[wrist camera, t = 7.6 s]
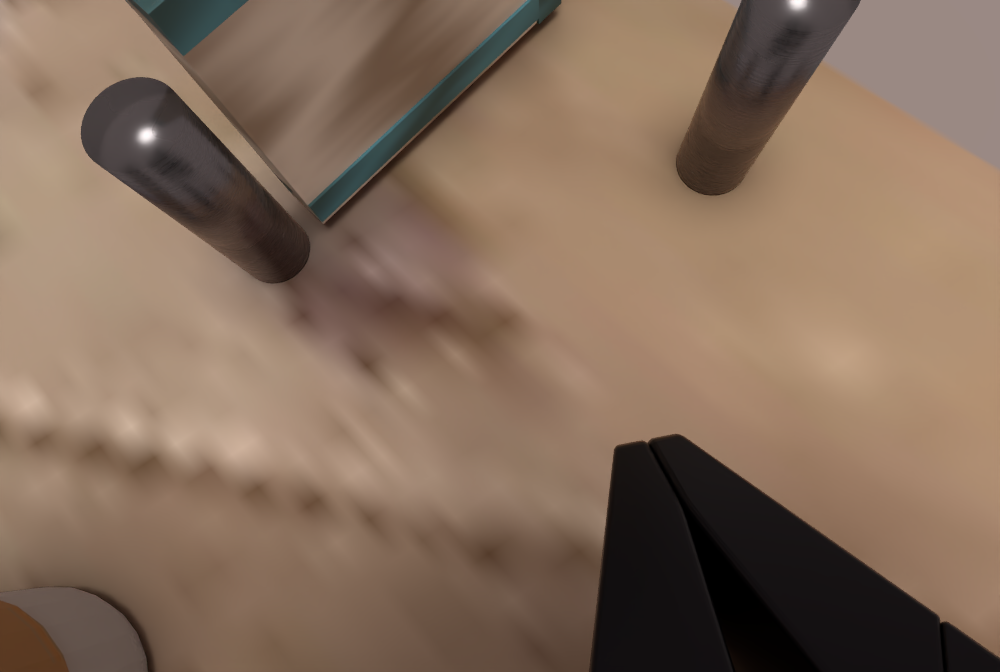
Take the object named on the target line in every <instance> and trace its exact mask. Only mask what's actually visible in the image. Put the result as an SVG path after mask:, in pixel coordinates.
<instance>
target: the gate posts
mask: <svg viewBox="0 0 1000 672" xmlns="http://www.w3.org/2000/svg"><path fill="white" fill-rule="evenodd" d="M859 3H860V0H742V1H741V3H740V6H739V8H738V11H737V13H736V15H735V18H734V20H733V23H732V25H731V27H730V30H729V32H728V35H727V37H726V39H725V42H724V44H723V47H722V49H721V51H720V54H719V56H718V59H717V61H716V63H715V66H714V68H713V71H712V73H711V75H710V78H709V80H708V82H707V85H706V87H705V90H704V92H703V94H702V97H701V99H700V102H699V104H698V106H697V109H696V111H695V114H694V116H693V118H692V121H691V123H690V126H689V128H688V130H687V133H686V135H685V138H684V140H683V142H682V145H681V147H680V150H679V152H678V155H677V161H676V164H677V170H678V173H679V175H680V177H681V179H682V180H683V182H684V183H685V184H686V185H687V186H689V187H690V188H691V189H693V190H695V191H697V192H699V193H702V194H707V195H719V194H723V193H726V192H729V191H731V190H732V189H734V188H735V187H737V186H738V185H739V184H740V182H741V181H742V179H743V178H744V176H745V175H746V173H747V172H748V170H749V169H750V167H751V166H752V164H753V163H754V161H755V160H756V158H757V157H758V155H759V154H760V152H761V151H762V149H763V148H764V146H765V145H766V143H767V142H768V140H769V139H770V137H771V136H772V134H773V133H774V131H775V130H776V128H777V127H778V125H779V124H780V122H781V121H782V119H783V118H784V116H785V115H786V113H787V112H788V110H789V109H790V107H791V106H792V104H793V103H794V101H795V100H796V98H797V97H798V95H799V94H800V92H801V91H802V89H803V88H804V86H805V85H806V83H807V82H808V80H809V79H810V77H811V76H812V74H813V73H814V71H815V70H816V68H817V67H818V65H819V64H820V62H821V61H822V59H823V58H824V56H825V55H826V53H827V52H828V50H829V49H830V47H831V46H832V44H833V43H834V41H835V40H836V38H837V37H838V35H839V34H840V32H841V31H842V29H843V28H844V26H845V25H846V23H847V22H848V20H849V19H850V17H851V16H852V14H853V13H854V11H855V10H856V8H857V7H858V5H859ZM81 140H82V144H83V147H84V149H85V151H86V153H87V154H88V156H89V157H90V158H91V159H92V160H93V161H94V162H96V163H97V164H98V165H100V166H101V167H102V168H104V169H105V170H106V171H108V172H109V173H111V174H112V175H113V176H115V177H116V178H118V179H119V180H120V181H122V182H123V183H124V184H126V185H127V186H129V187H130V188H131V189H133V190H134V191H136V192H137V193H138V194H140V195H141V196H143V197H144V198H145V199H147V200H148V201H149V202H151V203H152V204H154V205H155V206H156V207H158V208H159V209H161V210H162V211H163V212H165V213H166V214H168V215H169V216H170V217H172V218H173V219H174V220H176V221H177V222H179V223H180V224H181V225H183V226H184V227H186V228H187V229H188V230H190V231H191V232H192V233H194V234H195V235H197V236H198V237H199V238H201V239H202V240H204V241H205V242H206V243H208V244H209V245H211V246H212V247H213V248H215V249H216V250H217V251H219V252H220V253H222V254H223V255H224V256H226V257H227V258H229V259H230V260H231V261H233V262H234V263H236V264H237V265H238V266H240V267H241V268H242V269H244V270H245V271H247V272H248V273H249V274H251V275H252V276H254V277H255V278H257V279H258V280H261V281H263V282H267V283H278V282H283V281H286V280H288V279H290V278H292V277H293V276H295V275H296V274H297V273H298V272H299V271H300V270H301V269H302V268H303V266H304V265H305V263H306V261H307V259H308V256H309V249H310V246H309V240H308V237H307V235H306V233H305V231H304V230H303V229H302V228H301V227H300V226H299V224H298V223H297V222H296V221H295V220H294V219H293V218H292V217H291V216H290V215H289V214H288V213H287V212H286V211H285V209H284V208H283V207H282V206H281V205H280V204H279V203H278V202H277V201H276V200H275V199H274V198H273V197H272V196H271V194H270V193H269V192H268V191H267V190H266V189H265V188H264V187H263V186H262V185H261V184H260V183H259V182H258V181H257V180H256V178H255V177H254V176H253V175H252V174H251V173H250V172H249V171H248V170H247V169H246V168H245V167H244V166H243V165H242V163H241V162H240V161H239V160H238V159H237V158H236V157H235V156H234V155H233V154H232V153H231V152H230V151H229V150H228V148H227V147H226V146H225V145H224V144H223V143H222V142H221V141H220V140H219V139H218V138H217V137H216V136H215V135H214V134H213V132H212V131H211V130H210V129H209V128H208V127H207V126H206V125H205V124H204V123H203V122H202V121H201V120H200V119H199V117H198V116H197V115H196V114H195V113H194V112H193V111H192V110H191V109H190V108H189V107H188V106H187V105H186V104H185V102H184V101H183V100H182V99H181V98H180V97H179V96H178V95H177V94H176V93H175V92H174V91H173V90H172V89H171V88H170V87H169V86H168V85H166V84H165V83H163V82H161V81H158V80H156V79H152V78H145V77H136V78H129V79H126V80H122V81H120V82H117V83H115V84H113V85H111V86H109V87H108V88H106V89H105V90H104V91H102V92H101V93H100V94H99V95H98V96H97V97H96V98H95V99H94V100H93V102H92V103H91V104H90V106H89V107H88V109H87V111H86V113H85V115H84V118H83V121H82V126H81Z"/></svg>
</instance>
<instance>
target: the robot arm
mask: <svg viewBox="0 0 1000 672" xmlns="http://www.w3.org/2000/svg"><path fill="white" fill-rule="evenodd" d="M589 672H1000V658H999V657H998V656H996V655H995V654H993V653H992V652H990V651H989V650H987V649H986V648H985V647H983V646H982V645H980V644H979V643H977V642H976V641H975V640H973V639H972V638H970V637H969V636H968V635H966V634H965V633H963V632H962V631H960V630H959V629H958V628H956V627H955V626H953V625H952V624H950V623H949V622H946V621H945V622H942V623H941V624H940V618H939V616H938V615H937V614H936V613H934V612H933V611H931V610H930V609H929V608H927V607H926V606H924V605H923V604H921V603H920V602H919V601H917V600H916V599H914V598H913V597H912V596H910V595H909V594H907V593H906V592H904V591H903V590H902V589H900V588H899V587H897V586H896V585H894V584H893V583H892V582H890V581H889V580H887V579H886V578H884V577H883V576H882V575H880V574H879V573H877V572H876V571H875V570H873V569H872V568H870V567H869V566H867V565H866V564H865V563H863V562H862V561H860V560H859V559H857V558H856V557H855V556H853V555H852V554H850V553H849V552H848V551H846V550H845V549H843V548H842V547H840V546H839V545H838V544H836V543H835V542H833V541H832V540H830V539H829V538H828V537H826V536H825V535H823V534H822V533H820V532H819V531H818V530H816V529H815V528H813V527H812V526H811V525H809V524H808V523H806V522H805V521H803V520H802V519H801V518H799V517H798V516H796V515H795V514H793V513H792V512H791V511H789V510H788V509H786V508H785V507H784V506H782V505H781V504H779V503H778V502H776V501H775V500H774V499H772V498H771V497H769V496H768V495H766V494H765V493H764V492H762V491H761V490H759V489H758V488H756V487H755V486H754V485H752V484H751V483H749V482H748V481H747V480H745V479H744V478H742V477H741V476H739V475H738V474H737V473H735V472H734V471H732V470H731V469H729V468H728V467H727V466H725V465H724V464H722V463H721V462H720V461H718V460H717V459H715V458H714V457H712V456H711V455H710V454H708V453H707V452H705V451H704V450H702V449H701V448H700V447H698V446H697V445H695V444H694V443H692V442H691V441H690V440H688V439H687V438H685V437H684V436H682V435H679V434H672V435H667V436H662V437H657V438H652V439H651V440H650V441H649V442H648V443H647V442H645V441H636V442H631V443H626V444H621V445H617V446H616V447H615V449H614V455H613V464H612V473H611V482H610V491H609V499H608V508H607V517H606V526H605V535H604V544H603V552H602V561H601V570H600V579H599V588H598V597H597V606H596V614H595V623H594V632H593V641H592V650H591V659H590V668H589Z"/></svg>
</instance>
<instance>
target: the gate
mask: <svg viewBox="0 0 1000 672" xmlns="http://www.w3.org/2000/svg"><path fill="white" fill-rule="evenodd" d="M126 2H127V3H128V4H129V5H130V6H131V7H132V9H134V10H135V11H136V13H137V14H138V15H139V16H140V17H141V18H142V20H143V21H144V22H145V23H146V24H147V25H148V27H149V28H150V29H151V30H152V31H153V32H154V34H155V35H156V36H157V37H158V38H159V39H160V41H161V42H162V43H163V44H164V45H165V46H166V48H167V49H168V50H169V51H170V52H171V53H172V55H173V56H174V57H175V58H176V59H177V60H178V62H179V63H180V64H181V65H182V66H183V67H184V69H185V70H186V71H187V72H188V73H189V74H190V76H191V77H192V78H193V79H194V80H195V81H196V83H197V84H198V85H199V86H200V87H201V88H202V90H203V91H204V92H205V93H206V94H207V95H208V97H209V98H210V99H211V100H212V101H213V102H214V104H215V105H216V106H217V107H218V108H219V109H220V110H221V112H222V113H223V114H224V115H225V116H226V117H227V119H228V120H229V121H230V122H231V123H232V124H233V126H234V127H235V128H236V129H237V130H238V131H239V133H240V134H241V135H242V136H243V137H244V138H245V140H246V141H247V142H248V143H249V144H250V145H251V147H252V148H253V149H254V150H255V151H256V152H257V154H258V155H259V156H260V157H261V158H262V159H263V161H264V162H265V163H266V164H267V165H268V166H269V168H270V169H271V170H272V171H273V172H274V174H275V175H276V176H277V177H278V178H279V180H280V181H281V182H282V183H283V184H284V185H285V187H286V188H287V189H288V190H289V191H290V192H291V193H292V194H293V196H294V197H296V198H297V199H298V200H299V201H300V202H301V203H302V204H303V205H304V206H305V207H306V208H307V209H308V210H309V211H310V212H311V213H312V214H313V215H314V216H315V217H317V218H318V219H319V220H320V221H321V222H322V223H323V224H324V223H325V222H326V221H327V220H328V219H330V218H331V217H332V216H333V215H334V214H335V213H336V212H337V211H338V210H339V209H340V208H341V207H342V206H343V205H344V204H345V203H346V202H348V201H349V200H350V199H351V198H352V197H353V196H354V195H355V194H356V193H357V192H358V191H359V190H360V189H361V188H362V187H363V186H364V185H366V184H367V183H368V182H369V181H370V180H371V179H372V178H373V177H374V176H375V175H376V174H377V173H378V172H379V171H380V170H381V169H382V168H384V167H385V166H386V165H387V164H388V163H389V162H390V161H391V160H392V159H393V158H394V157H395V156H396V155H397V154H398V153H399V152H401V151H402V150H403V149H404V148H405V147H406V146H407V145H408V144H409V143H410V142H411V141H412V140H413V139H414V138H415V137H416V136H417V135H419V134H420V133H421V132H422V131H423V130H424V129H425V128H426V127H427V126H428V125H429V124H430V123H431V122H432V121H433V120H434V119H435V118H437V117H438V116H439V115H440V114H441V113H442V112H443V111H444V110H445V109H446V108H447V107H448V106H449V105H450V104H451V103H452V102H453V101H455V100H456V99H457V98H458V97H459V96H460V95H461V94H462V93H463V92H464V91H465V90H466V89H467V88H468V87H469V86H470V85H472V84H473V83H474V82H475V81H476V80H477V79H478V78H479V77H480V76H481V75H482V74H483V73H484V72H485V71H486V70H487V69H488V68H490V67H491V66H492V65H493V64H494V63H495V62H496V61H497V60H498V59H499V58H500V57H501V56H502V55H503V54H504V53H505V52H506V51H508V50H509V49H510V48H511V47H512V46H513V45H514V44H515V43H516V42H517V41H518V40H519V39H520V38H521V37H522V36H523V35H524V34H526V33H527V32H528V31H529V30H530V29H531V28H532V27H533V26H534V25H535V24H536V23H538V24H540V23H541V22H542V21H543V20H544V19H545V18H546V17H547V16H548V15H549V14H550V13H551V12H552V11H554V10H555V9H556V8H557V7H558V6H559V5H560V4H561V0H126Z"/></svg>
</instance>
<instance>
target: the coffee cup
mask: <svg viewBox="0 0 1000 672" xmlns="http://www.w3.org/2000/svg"><path fill="white" fill-rule="evenodd" d="M0 672H148V668H147V659H146V655H145V652H144V649H143V647H142V644H141V641H140V639H139V636H138V634H137V632H136V631H135V629H134V628H133V627H132V625H131V624H130V623H129V621H128V620H127V619H126V617H125V616H124V615H123V614H122V613H121V612H119V611H118V610H117V609H115V608H114V607H113V606H111V605H110V604H108V603H107V602H106V601H103V600H102V599H100V598H99V597H98V596H96V595H93V594H90V593H88V592H85V591H82V590H79V589H76V588H73V587H41V588H33V589H25V590H17V591H9V592H0Z"/></svg>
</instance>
